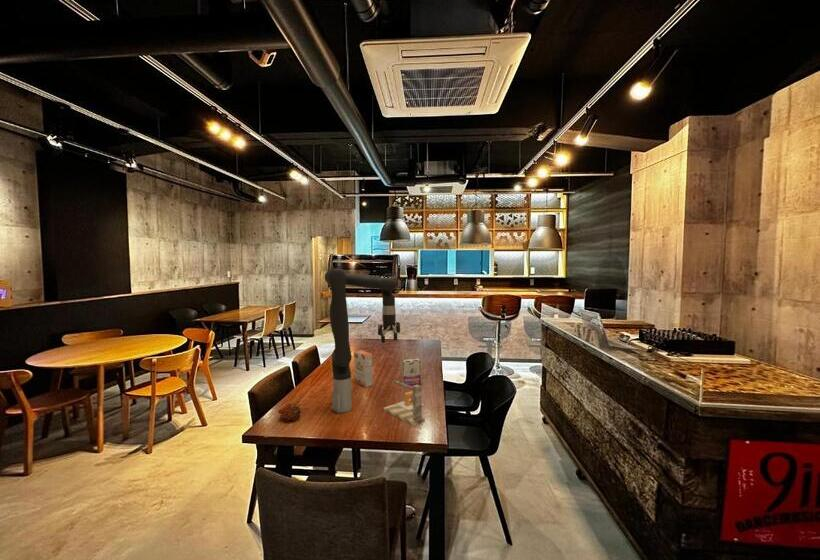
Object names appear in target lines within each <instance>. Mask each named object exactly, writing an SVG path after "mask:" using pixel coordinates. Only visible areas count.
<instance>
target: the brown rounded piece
mask: <svg viewBox="0 0 820 560" xmlns="http://www.w3.org/2000/svg"><path fill="white" fill-rule="evenodd" d="M284 406H285V407H282V408H281V409H279V410H278V412H277V413H278V414H280V415H279V419H285V421H286V422H289V421H295V420H296V419H298V418H300V417H301V413H302V411H301V408H300V406H298V405H297V404H295V403H287V404H286V405H284Z"/></svg>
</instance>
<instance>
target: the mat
mask: <svg viewBox="0 0 820 560" xmlns="http://www.w3.org/2000/svg"><path fill="white" fill-rule="evenodd" d="M409 401H411V398H409ZM395 405H397V406H399V407H402V408H404V409H406V410H408V411H410V412H412V411H413V405H410V406H406V405H405V400H403V401H400V402H397V403H395ZM424 406H425V404H424V403H422V407H424Z"/></svg>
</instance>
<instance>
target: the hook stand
mask: <svg viewBox="0 0 820 560" xmlns="http://www.w3.org/2000/svg"><path fill="white" fill-rule="evenodd" d="M393 383H394V384H397V385H398V386H401V387H404V388H407V389H410V390H411V391H413V410H412V411H408V410H406V409H404V408H402V407H399V406H397V405H396V403H393V404H391V405H388V406H385V407H383V411H384V412H385V413H388V414H390V415H392V416H394V417H396V418H397V419H400V420H402V421H403V422H404V423H407V424H409V425H410V426H413V427H415V426H417V425H420V424H423V423H425V421H426V420H425V419H426V418H424V417H422V415H423V414H422V410H423V409H422V407H423V406H422V404H423V403H422V401H423V400H422V385H414V386H409V385H407V384H404V383H403V382H401V381H398V380H397V379H394V380H393Z"/></svg>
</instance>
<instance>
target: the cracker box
mask: <svg viewBox="0 0 820 560" xmlns="http://www.w3.org/2000/svg"><path fill="white" fill-rule="evenodd" d="M353 355H354V356H353V357H354V358H353V359H354V383H356V382H357V383H356V384H358V385H360V386H361V385H362V387H363V388H365V387H366V388H370V387H373V385H374V383H373V382H374V381H373V378H374V377H373V373H374V372H373V354H372V353H371V352H367V351H365V350H363V349H359V350H355V351H353ZM369 386H370V387H369Z"/></svg>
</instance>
